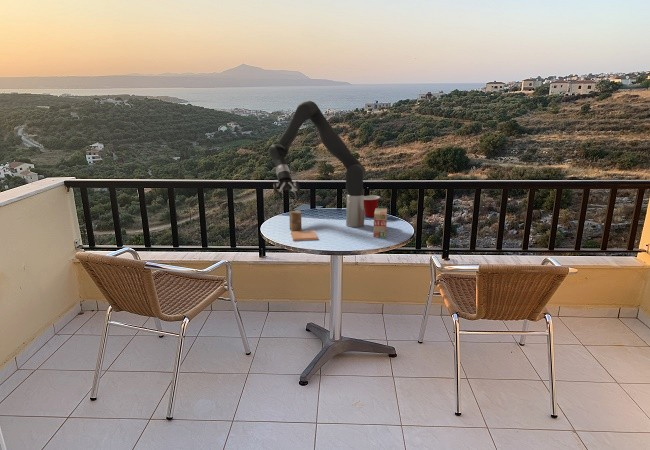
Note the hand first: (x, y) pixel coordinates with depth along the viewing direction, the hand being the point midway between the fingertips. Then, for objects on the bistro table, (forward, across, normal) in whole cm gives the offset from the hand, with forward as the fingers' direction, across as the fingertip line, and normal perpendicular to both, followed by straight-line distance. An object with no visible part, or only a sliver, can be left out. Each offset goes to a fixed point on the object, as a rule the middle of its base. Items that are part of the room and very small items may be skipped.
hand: (289, 198), depth 216 cm
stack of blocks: (+30, +41, -9) cm, 52 cm away
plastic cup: (+8, +50, +12) cm, 53 cm away
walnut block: (+19, 0, +2) cm, 19 cm away
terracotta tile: (+27, +1, -7) cm, 28 cm away
